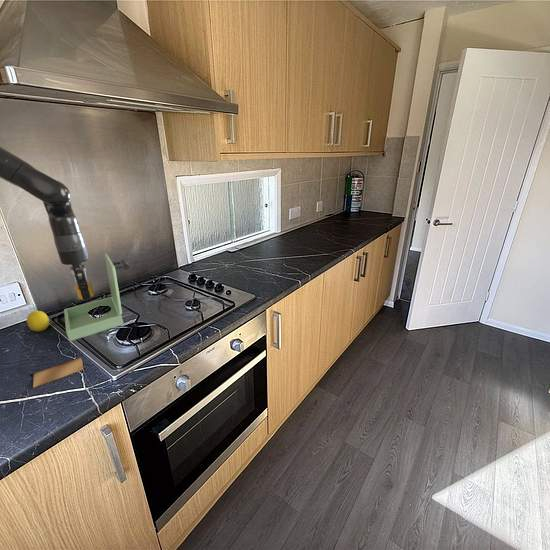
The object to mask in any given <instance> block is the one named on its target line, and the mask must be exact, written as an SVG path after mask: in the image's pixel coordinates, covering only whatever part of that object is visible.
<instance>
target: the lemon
mask: <svg viewBox="0 0 550 550" xmlns="http://www.w3.org/2000/svg"><path fill="white" fill-rule="evenodd" d="M26 323H27V326H28V327H29V329H30V330H31V331H33V332H43V331H45V330H46V329H48V327H49V326H50V318H49V316H48V315H47V314H46V312H44V311H41V310H32V311H31V312H30V313H29V314H28V316H27V318H26Z"/></svg>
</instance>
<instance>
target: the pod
mask: <svg viewBox="0 0 550 550" xmlns="http://www.w3.org/2000/svg"><path fill="white" fill-rule="evenodd" d="M86 282H87V285H88V286H89V287H88V290H89V293H90V296H91V297H90V298H89V299H91V298H92V297H94V296H95V292H94V289H93V285H92V282H91V280H90V279H88V280H87V281H86ZM81 285H86V284H85V283H82V284H80V286H81ZM73 287H74V289H75V292H76V295H77V299H78V300H84V299H83V298H82V294H81V291H80V290H79V288H78V284H77V283H76V282H74V284H73Z"/></svg>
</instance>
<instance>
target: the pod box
mask: <svg viewBox="0 0 550 550" xmlns="http://www.w3.org/2000/svg"><path fill="white" fill-rule="evenodd" d="M99 306H109V307H111V311H110V312H109V313H108V314H106V315H104V316H102V317H100V318H92V317H90V316H89V315H88V312H89V311H90V310H92V309H94V308H96V307H99ZM63 314H64V323H65V333H66V336H67V338H68V341H69V342H72V341H75V340H78V339H82V338H85V337H88V336H91V335H95V334H99V333H101V332H104V331H107V330H111V329H113V328H114V329H115V328H116V327H121V326H123V325H125V323H124V320H123V316H122V314H119V312H118V309H117V307H116V305H115V303H114V300H113V298H112V296H110V297H106V298H101V299H98V300H94V301H90V302H86V303H82V304H78V305H75V306H72V307H68V308H64V309H63Z"/></svg>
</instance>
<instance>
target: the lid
mask: <svg viewBox="0 0 550 550" xmlns="http://www.w3.org/2000/svg"><path fill="white" fill-rule="evenodd" d="M103 255H104V261H105V266H106V267H105V268H106V272H107V278H108V279H107V280H108V285H109V291H110V297H112V298H113V300H114V303H115V305H116V307H117V309H118V312H119V314H121V315H122V314H123V310H122V304H121V297H120V289H119V284H118V278H117V271H116V270H121V269H124V270H125V271H126V270H129V269H130V265H129V263H128V262H127V260H125V259H120V261H117V262H116V261H115V262H112V260H111V258H110V257H109V255H108V254H107V253H104V254H103ZM117 265H119V266H117Z"/></svg>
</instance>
